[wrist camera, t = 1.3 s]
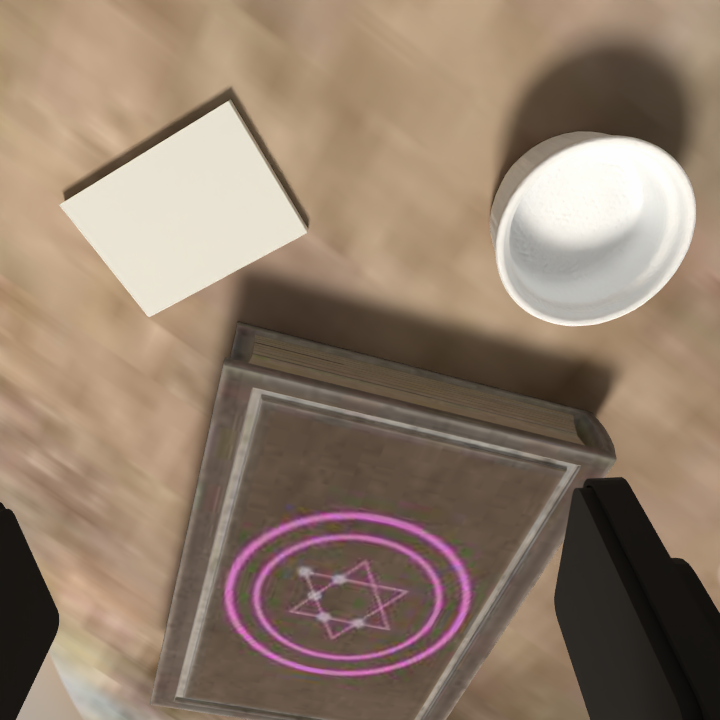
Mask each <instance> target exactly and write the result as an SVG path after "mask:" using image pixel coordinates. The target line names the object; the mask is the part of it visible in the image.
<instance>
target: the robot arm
mask: <svg viewBox="0 0 720 720" xmlns="http://www.w3.org/2000/svg"><path fill="white" fill-rule="evenodd" d="M554 603H555V611H556V616H557V619H558V622H559V625H560V628H561V631H562V635H563V638H564V641H565V644H566V647H567V650H568V653H569V656H570V659H571V662H572V665H573V668H574V671H575V674H576V677H577V680H578V683H579V686H580V689H581V693H582V696H583V699H584V702H585V705H586V708H587V711H588V714H589V717H590V720H720V613H719V611H718V610H717V608H716V606H715V605H714V603H713V601H712V600H711V598H710V596H709V595H708V593H707V591H706V590H705V588H704V586H703V585H702V583H701V581H700V580H699V578H698V576H697V575H696V573H695V572H694V570H693V569H692V568H691V566H690V565H689V564H688V563H687V562H686V561H684V560H683V559H680V558H671V557H670V556H669V554H668V552H667V550H666V549H665V547H664V545H663V543H662V542H661V540H660V538H659V536H658V535H657V533H656V531H655V529H654V528H653V526H652V524H651V522H650V521H649V519H648V517H647V515H646V514H645V512H644V510H643V508H642V506H641V505H640V503H639V501H638V499H637V498H636V496H635V494H634V492H633V491H632V489H631V487H630V485H629V484H628V482H627V481H626V480H625V479H624V478H622V477H616V478H589V479H586V480H585V482H584V485H583V488H575V489H574V490H573V494H572V499H571V505H570V510H569V516H568V522H567V527H566V533H565V539H564V544H563V550H562V556H561V561H560V567H559V572H558V578H557V584H556V589H555V596H554ZM58 626H59V613H58V610H57V608H56V606H55V603H54V601H53V599H52V597H51V595H50V592H49V590H48V588H47V586H46V583H45V581H44V579H43V577H42V575H41V572H40V570H39V568H38V566H37V563H36V561H35V559H34V557H33V555H32V552H31V550H30V548H29V546H28V544H27V541H26V539H25V537H24V535H23V532H22V530H21V528H20V526H19V524H18V521H17V519H16V517H15V515H14V513H13V512H12V511H11V510H10V509H6V508H5V507H4V505H3V504H2V503H1V502H0V720H16V718H17V716H18V714H19V712H20V709H21V707H22V705H23V703H24V701H25V699H26V697H27V695H28V693H29V691H30V688H31V686H32V684H33V682H34V680H35V678H36V676H37V673H38V672H39V670H40V667H41V665H42V663H43V661H44V659H45V657H46V655H47V653H48V651H49V649H50V646H51V644H52V642H53V640H54V638H55V636H56V633H57V631H58Z"/></svg>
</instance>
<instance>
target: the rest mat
mask: <svg viewBox="0 0 720 720" xmlns="http://www.w3.org/2000/svg"><path fill="white" fill-rule="evenodd" d="M60 206H61V208H62V209H63V210H64V212H65V213H66V214H67V215H68V217H69V218H70V219H71V220H72V222H73V223H74V224H75V225H76V227H77V228H78V229H79V230H80V232H81V233H82V234H83V235H84V237H85V238H86V239H87V240H88V242H89V243H90V244H91V245H92V247H93V248H94V249H95V250H96V252H97V253H98V254H99V255H100V257H101V258H102V259H103V260H104V262H105V263H106V264H107V266H108V267H109V268H110V269H111V271H112V272H113V273H114V274H115V276H116V277H117V278H118V279H119V281H120V282H121V283H122V284H123V286H124V287H125V288H126V289H127V291H128V292H129V293H130V294H131V296H132V297H133V298H134V299H135V301H136V302H137V303H138V304H139V306H140V307H141V308H142V309H143V311H144V312H145V313H146V315H147V316H148V317H151V316H153V315H154V314H156V313H158V312H160V311H162V310H164V309H166V308H168V307H169V306H171V305H173V304H175V303H177V302H179V301H181V300H183V299H184V298H186V297H188V296H190V295H192V294H194V293H196V292H197V291H199V290H201V289H203V288H205V287H207V286H209V285H211V284H212V283H214V282H216V281H218V280H220V279H222V278H224V277H226V276H227V275H229V274H231V273H233V272H235V271H237V270H239V269H241V268H242V267H244V266H246V265H248V264H250V263H252V262H254V261H255V260H257V259H259V258H261V257H263V256H265V255H267V254H269V253H270V252H272V251H274V250H276V249H278V248H280V247H282V246H284V245H285V244H287V243H289V242H291V241H293V240H295V239H297V238H298V237H300V236H302V235H304V234H306V233H307V232H308V228H307V226H306V224H305V223H304V221H303V219H302V218H301V216H300V214H299V213H298V211H297V209H296V208H295V206H294V204H293V203H292V201H291V199H290V198H289V196H288V194H287V193H286V191H285V189H284V188H283V186H282V184H281V183H280V181H279V179H278V178H277V176H276V174H275V172H274V171H273V169H272V167H271V166H270V164H269V162H268V161H267V159H266V157H265V156H264V154H263V152H262V151H261V149H260V147H259V146H258V144H257V142H256V141H255V139H254V137H253V136H252V134H251V132H250V131H249V129H248V127H247V126H246V124H245V122H244V121H243V119H242V117H241V116H240V114H239V112H238V111H237V109H236V107H235V106H234V104H233V102H232V101H231V99H230V100H229V101H227V102H225V103H224V104H222V105H220V106H219V107H217V108H216V109H214V110H212V111H211V112H209V113H207V114H206V115H204V116H203V117H201V118H199V119H198V120H196V121H194V122H193V123H191V124H190V125H188V126H186V127H185V128H183V129H181V130H180V131H178V132H177V133H175V134H173V135H172V136H170V137H168V138H167V139H165V140H164V141H162V142H160V143H159V144H157V145H155V146H154V147H152V148H151V149H149V150H147V151H146V152H144V153H142V154H141V155H139V156H138V157H136V158H134V159H133V160H131V161H129V162H128V163H126V164H125V165H123V166H121V167H120V168H118V169H116V170H115V171H113V172H112V173H110V174H108V175H107V176H105V177H103V178H102V179H100V180H99V181H97V182H95V183H94V184H92V185H90V186H89V187H87V188H86V189H84V190H82V191H81V192H79V193H77V194H76V195H74V196H73V197H71V198H69V199H68V200H66V201H64V202H63V203H61V204H60Z"/></svg>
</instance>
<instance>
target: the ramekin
mask: <svg viewBox="0 0 720 720" xmlns="http://www.w3.org/2000/svg"><path fill="white" fill-rule="evenodd" d="M695 221H696V202H695V196H694V192H693V188H692V185H691V182H690V180H689V178H688V176H687V174H686V173H685V171H684V169H683V168H682V167H681V166H680V164H679V163H678V162H677V161H676V160H675V159H674V158H673V157H672V156H671V155H670V154H669V153H667V152H666V151H664V150H663V149H661V148H660V147H659V146H656V145H654V144H652V143H650V142H647V141H644V140H641V139H638V138H633V137H628V136H619V135H608V134H605V133H599V132H591V131H586V132H583V131H577V132H572V133H565V134H562V135H559V136H555V137H552V138H550V139H547V140H545V141H543V142H541V143H539V144H538V145H536V146H535V147H533V148H531V149H530V150H529V151H528V152H526V153H525V154H524V155H522V156H521V157H520V158H519V159H518V160H517V161H516V162H515V163H514V164H513V165H512V167H511V168H510V169H509V171H508V172H507V173H506V175H505V177H504V179H503V181H502V182H501V184H500V187H499V189H498V191H497V193H496V196H495V199H494V202H493V205H492V208H491V216H490V233H491V240H492V244H493V247H494V249H495V255H496V262H497V268H498V272H499V275H500V278H501V280H502V283H503V285H504V287H505V288H506V290H507V292H508V294H509V295H510V296H511V298H512V299H513V300H514V301H515V302H516V303H517V304H518V305H519V306H520V307H521V308H523V309H524V310H525V311H527V312H528V313H529V314H531V315H533V316H535V317H537V318H539V319H541V320H544V321H547V322H550V323H554V324H559V325H567V326H585V325H593V324H599V323H602V322H607V321H609V320H613V319H616V318H618V317H620V316H623V315H625V314H627V313H629V312H631V311H633V310H635V309H636V308H638V307H640V306H641V305H643V304H644V303H645V302H647V301H648V300H649V299H650V298H652V297H653V296H654V295H655V294H656V293H657V292H658V291H660V290H661V289H662V287H663V286H664V285H665V284H666V283H667V282H668V281H669V280H670V278H671V277H672V276H673V274H674V273H675V272H676V270H677V269H678V267H679V265H680V264H681V262H682V260H683V258H684V256H685V255H686V253H687V251H688V248H689V245H690V243H691V239H692V236H693V232H694V227H695Z"/></svg>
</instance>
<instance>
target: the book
mask: <svg viewBox="0 0 720 720" xmlns="http://www.w3.org/2000/svg"><path fill="white" fill-rule="evenodd" d="M615 462H616V454H615V449H614V445H613V443H612V440H611V438H610V437H609V435H608V433H607V431H606V430H605V428H604V427H603V425H602V424H601V423H600V422H599V420H598V419H597V418H596V417H595V416H594V415H593V414H592V413H591V412H588V411H584V410H580V409H576V408H573V407H569V406H565V405H561V404H557V403H553V402H549V401H545V400H541V399H537V398H534V397H530V396H526V395H522V394H518V393H514V392H510V391H506V390H502V389H498V388H495V387H491V386H487V385H483V384H479V383H475V382H471V381H467V380H463V379H459V378H456V377H452V376H448V375H444V374H440V373H436V372H432V371H428V370H424V369H420V368H417V367H413V366H409V365H405V364H401V363H397V362H393V361H389V360H385V359H381V358H378V357H374V356H370V355H366V354H362V353H358V352H354V351H350V350H346V349H342V348H339V347H335V346H331V345H327V344H323V343H319V342H315V341H311V340H307V339H303V338H300V337H296V336H292V335H288V334H284V333H280V332H276V331H272V330H268V329H264V328H261V327H257V326H253V325H249V324H245V323H241V322H238V324H237V328H236V333H235V337H234V342H233V346H232V351H231V355H230V358H225V360H224V363H223V367H222V372H221V376H220V381H219V386H218V390H217V395H216V400H215V404H214V409H213V413H212V418H211V423H210V427H209V432H208V437H207V441H206V446H205V450H204V455H203V460H202V464H201V469H200V474H199V478H198V483H197V487H196V492H195V497H194V501H193V506H192V511H191V515H190V520H189V524H188V529H187V534H186V538H185V543H184V547H183V552H182V557H181V561H180V566H179V571H178V575H177V580H176V584H175V589H174V594H173V598H172V603H171V608H170V612H169V617H168V621H167V626H166V631H165V635H164V640H163V645H162V649H161V654H160V658H159V663H158V668H157V672H156V677H155V682H154V686H153V691H152V695H151V700H150V705H156V706H163V707H169V708H176V709H183V710H189V711H196V712H202V713H209V714H215V715H222V716H228V717H235V718H241V719H248V720H446V719H447V717H448V716H449V714H450V713H451V711H452V710H453V708H454V707H455V705H456V704H457V702H458V700H459V699H460V697H461V696H462V694H463V693H464V691H465V690H466V688H467V687H468V685H469V684H470V682H471V681H472V679H473V678H474V676H475V675H476V673H477V672H478V670H479V669H480V667H481V665H482V664H483V662H484V661H485V659H486V658H487V656H488V655H489V653H490V652H491V650H492V649H493V647H494V646H495V644H496V643H497V641H498V640H499V638H500V637H501V635H502V634H503V632H504V630H505V629H506V627H507V626H508V624H509V623H510V621H511V620H512V618H513V617H514V615H515V614H516V612H517V611H518V609H519V608H520V606H521V605H522V603H523V602H524V600H525V599H526V597H527V595H528V594H529V592H530V591H531V589H532V588H533V586H534V585H535V583H536V582H537V580H538V579H539V577H540V576H541V574H542V573H543V571H544V570H545V568H546V567H547V565H548V564H549V562H550V560H551V559H552V557H553V556H554V554H555V553H556V551H557V550H558V548H559V547H560V545H561V544H562V542H563V541H564V539H565V533H566V527H567V522H568V516H569V510H570V505H571V499H572V494H573V490H574V489H575V488H583V485H584V482H585V480H586V479H589V478H605V477H606V475H607V474H608V472H609V471H610V469H611V468H612V466H613V465H614V463H615Z"/></svg>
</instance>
